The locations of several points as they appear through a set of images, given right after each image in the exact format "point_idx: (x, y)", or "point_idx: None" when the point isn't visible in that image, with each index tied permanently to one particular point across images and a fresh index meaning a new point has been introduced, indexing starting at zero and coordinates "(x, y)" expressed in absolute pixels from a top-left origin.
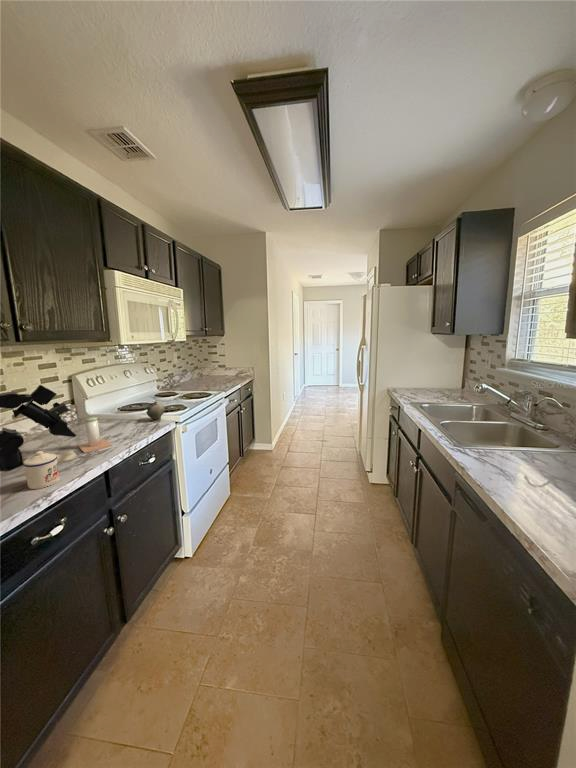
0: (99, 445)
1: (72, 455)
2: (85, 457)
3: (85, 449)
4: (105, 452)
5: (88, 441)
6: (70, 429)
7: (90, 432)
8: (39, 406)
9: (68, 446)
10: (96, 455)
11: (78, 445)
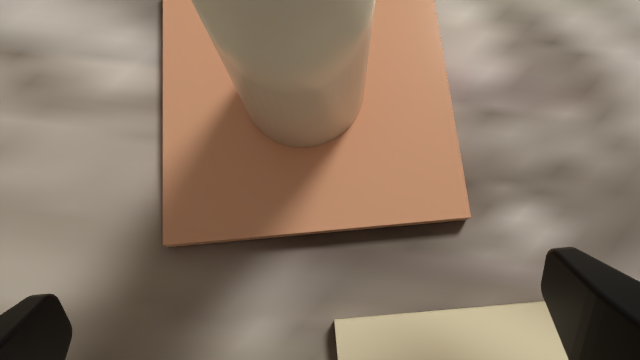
0: None
1: (528, 344)
2: (633, 226)
3: (395, 192)
4: (594, 42)
5: (313, 122)
6: (35, 307)
7: (367, 8)
8: None
9: None
10: (637, 125)
11: (176, 240)
